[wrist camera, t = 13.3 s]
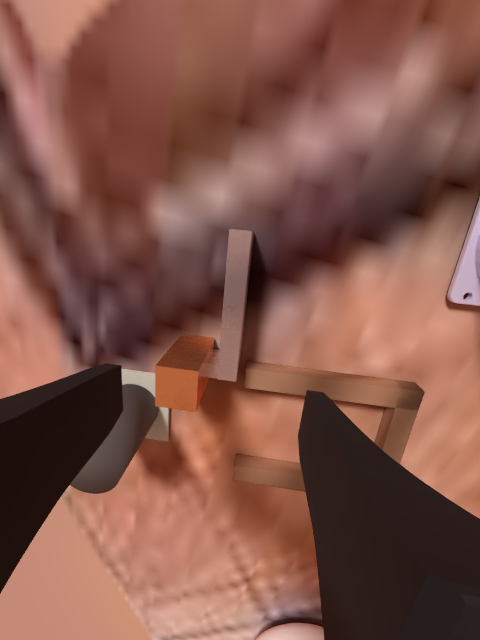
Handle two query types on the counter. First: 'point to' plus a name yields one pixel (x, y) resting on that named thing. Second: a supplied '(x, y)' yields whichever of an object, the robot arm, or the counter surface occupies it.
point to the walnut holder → (337, 386)
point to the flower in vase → (293, 632)
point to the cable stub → (119, 442)
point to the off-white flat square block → (148, 381)
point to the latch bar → (209, 339)
